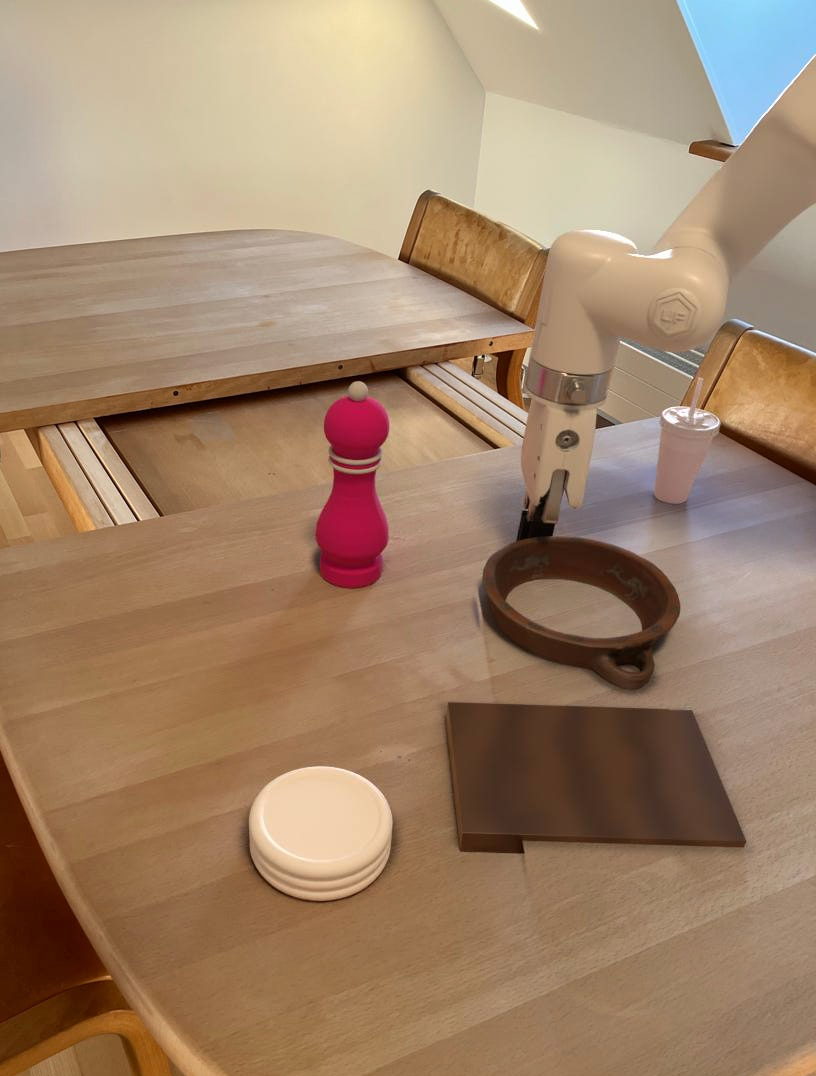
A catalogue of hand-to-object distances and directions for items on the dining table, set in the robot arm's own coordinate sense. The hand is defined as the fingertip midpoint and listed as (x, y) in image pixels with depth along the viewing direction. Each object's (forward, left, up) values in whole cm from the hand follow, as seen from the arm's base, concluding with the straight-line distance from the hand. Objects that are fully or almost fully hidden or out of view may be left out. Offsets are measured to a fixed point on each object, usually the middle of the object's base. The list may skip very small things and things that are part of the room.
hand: (531, 548), depth 99 cm
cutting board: (+1, +32, -2) cm, 32 cm away
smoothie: (-18, -15, -2) cm, 24 cm away
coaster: (+21, +39, -2) cm, 44 cm away
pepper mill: (+19, +3, -2) cm, 19 cm away
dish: (-2, +11, -2) cm, 12 cm away
